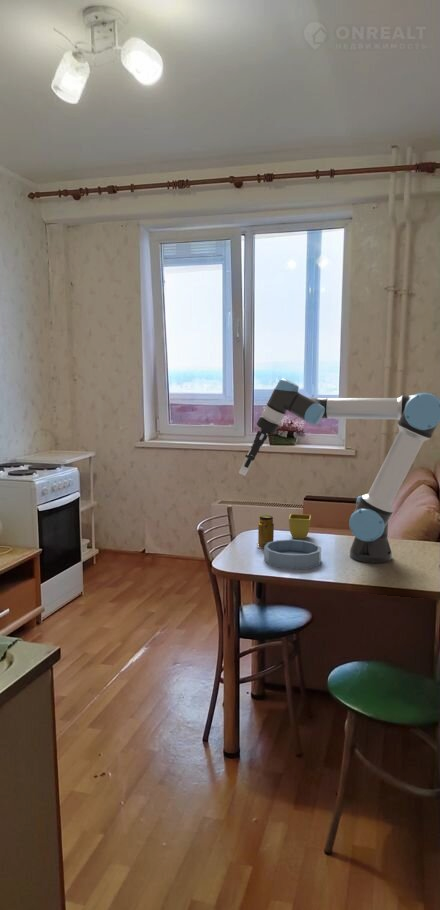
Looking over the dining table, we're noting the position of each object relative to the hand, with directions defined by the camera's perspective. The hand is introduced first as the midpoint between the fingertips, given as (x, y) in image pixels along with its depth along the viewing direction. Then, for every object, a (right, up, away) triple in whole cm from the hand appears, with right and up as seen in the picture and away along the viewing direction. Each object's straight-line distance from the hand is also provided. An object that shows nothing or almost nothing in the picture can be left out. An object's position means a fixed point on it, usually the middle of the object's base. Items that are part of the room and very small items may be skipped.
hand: (243, 469), depth 217 cm
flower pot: (+25, -29, +28) cm, 47 cm away
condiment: (+10, -31, +14) cm, 36 cm away
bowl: (+18, -33, -4) cm, 38 cm away
